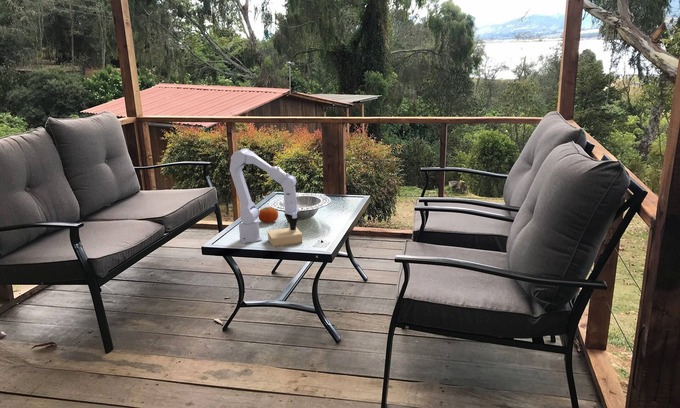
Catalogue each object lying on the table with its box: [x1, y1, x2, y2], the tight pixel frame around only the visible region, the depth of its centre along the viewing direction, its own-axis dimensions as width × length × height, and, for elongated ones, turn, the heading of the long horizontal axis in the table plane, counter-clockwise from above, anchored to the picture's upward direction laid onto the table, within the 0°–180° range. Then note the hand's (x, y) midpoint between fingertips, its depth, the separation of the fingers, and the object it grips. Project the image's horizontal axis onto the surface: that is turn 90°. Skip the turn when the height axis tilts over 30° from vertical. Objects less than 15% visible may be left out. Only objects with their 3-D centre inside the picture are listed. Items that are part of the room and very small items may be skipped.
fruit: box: [257, 206, 279, 224], centre depth 274 cm, size 11×10×8 cm
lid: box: [266, 225, 303, 239], centre depth 241 cm, size 14×12×5 cm
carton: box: [267, 233, 303, 248], centre depth 242 cm, size 14×12×4 cm
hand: (292, 229), depth 242 cm, fingers closed
